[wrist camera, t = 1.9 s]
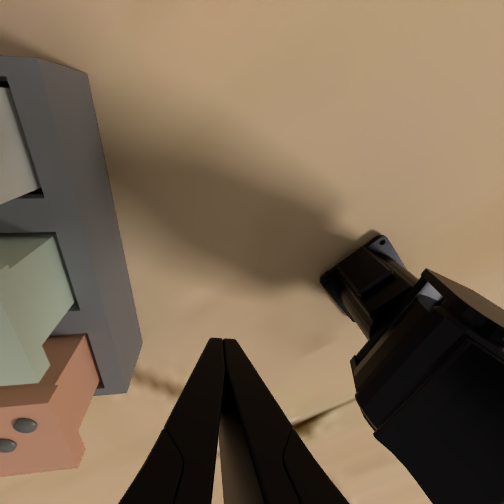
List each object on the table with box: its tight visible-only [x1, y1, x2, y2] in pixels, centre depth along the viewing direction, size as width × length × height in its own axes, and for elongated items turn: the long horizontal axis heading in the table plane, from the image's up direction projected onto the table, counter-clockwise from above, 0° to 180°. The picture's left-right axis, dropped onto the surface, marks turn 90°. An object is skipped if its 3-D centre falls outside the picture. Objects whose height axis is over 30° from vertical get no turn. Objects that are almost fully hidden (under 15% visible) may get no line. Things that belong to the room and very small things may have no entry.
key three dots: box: [0, 333, 101, 477], centre depth 17 cm, size 6×6×7 cm
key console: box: [0, 56, 142, 396], centre depth 18 cm, size 8×21×5 cm, turn 179°
